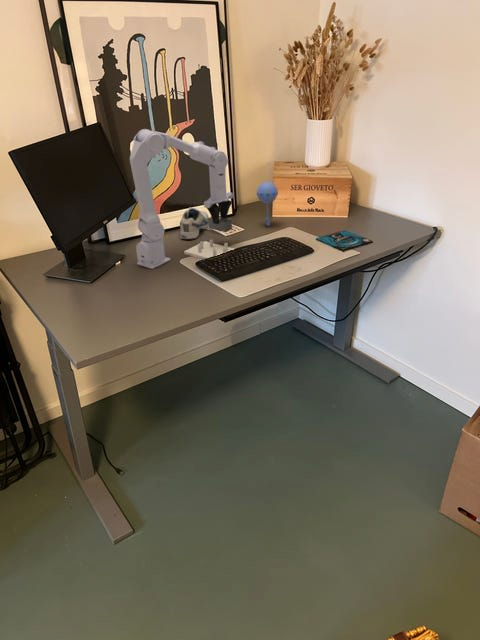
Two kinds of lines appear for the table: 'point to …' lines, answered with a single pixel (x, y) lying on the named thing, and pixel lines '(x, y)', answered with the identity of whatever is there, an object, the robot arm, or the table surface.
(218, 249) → the pegged base plate
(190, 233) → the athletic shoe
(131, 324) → the table surface
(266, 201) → the baby rattle
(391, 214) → the table surface
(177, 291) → the table surface
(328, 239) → the guitar string package
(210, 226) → the block
